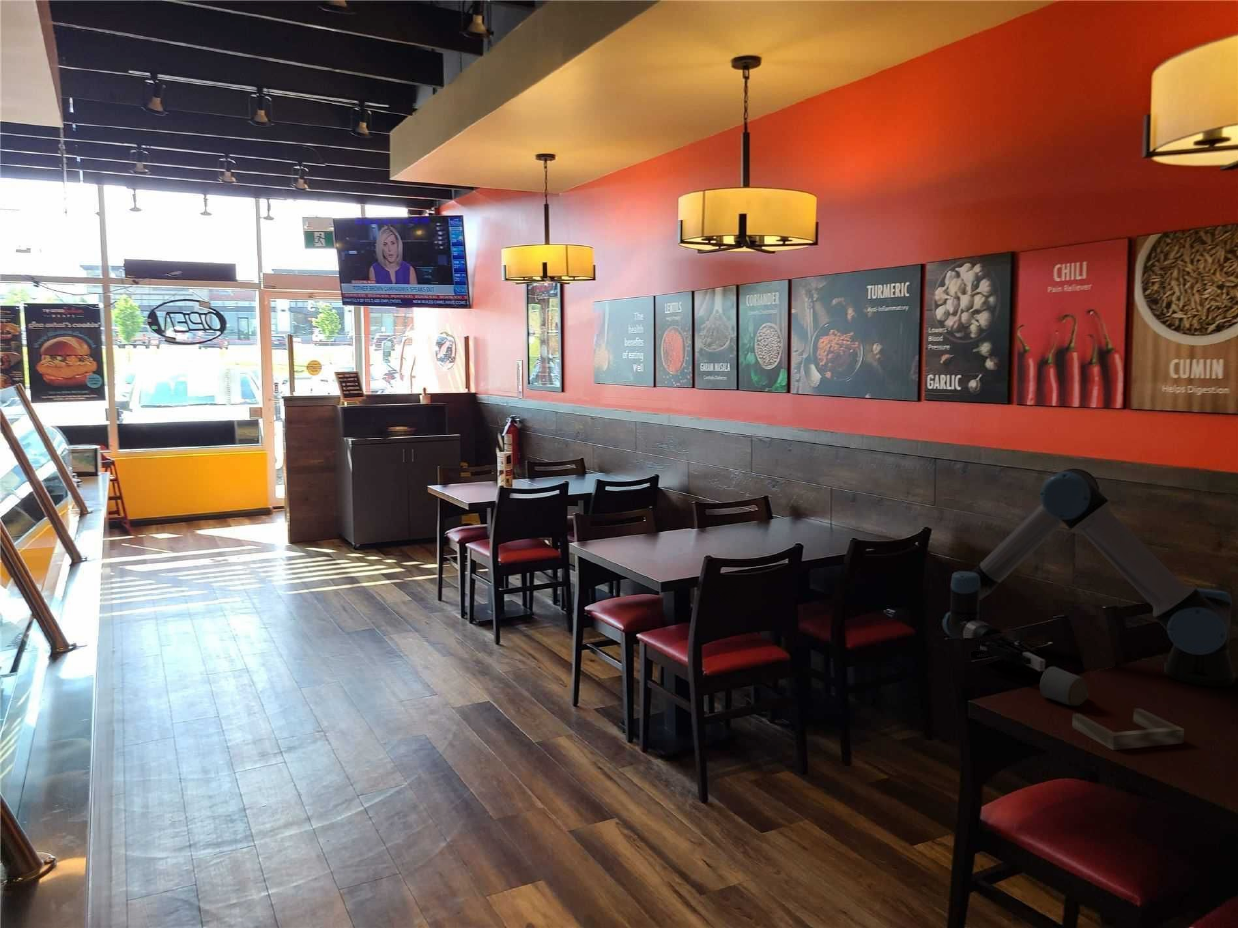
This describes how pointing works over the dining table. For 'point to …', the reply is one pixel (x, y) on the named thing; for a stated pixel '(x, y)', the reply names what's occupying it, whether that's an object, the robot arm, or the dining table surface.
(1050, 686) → the ceramic mug
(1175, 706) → the dining table surface
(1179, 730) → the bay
